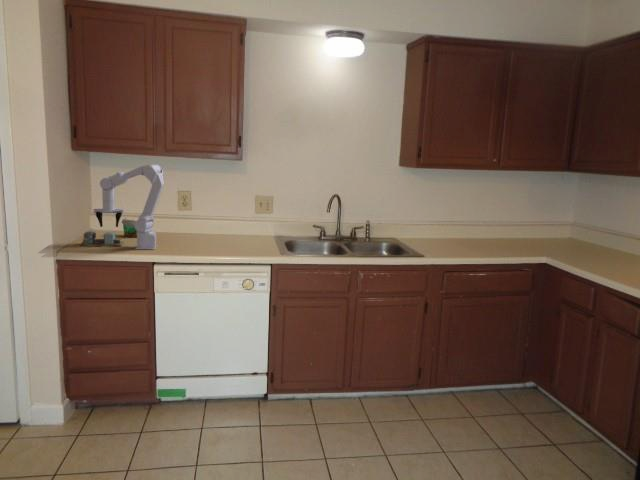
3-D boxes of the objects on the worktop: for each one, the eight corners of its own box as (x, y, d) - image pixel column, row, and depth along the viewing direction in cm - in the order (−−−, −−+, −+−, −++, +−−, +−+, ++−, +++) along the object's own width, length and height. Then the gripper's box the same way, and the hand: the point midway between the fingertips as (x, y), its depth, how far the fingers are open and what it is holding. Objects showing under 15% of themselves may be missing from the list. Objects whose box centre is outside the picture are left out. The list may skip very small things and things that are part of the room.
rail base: (123, 243, 264) (123, 231, 263) (120, 246, 257) (120, 234, 255) (83, 243, 260) (83, 231, 259) (79, 246, 252) (79, 233, 251)
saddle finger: (115, 241, 262) (115, 231, 261) (112, 244, 256) (112, 234, 255) (106, 241, 261) (106, 231, 260) (103, 244, 255) (103, 234, 254)
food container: (117, 236, 282) (116, 219, 280) (125, 234, 287) (125, 217, 285) (132, 239, 276) (132, 221, 274) (140, 237, 281) (140, 220, 279)
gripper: (124, 200, 260) (125, 225, 262) (95, 199, 257) (96, 225, 259) (122, 202, 253) (122, 227, 256) (92, 201, 250) (93, 227, 253)
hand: (109, 226), depth 257 cm, fingers open, 7 cm apart
